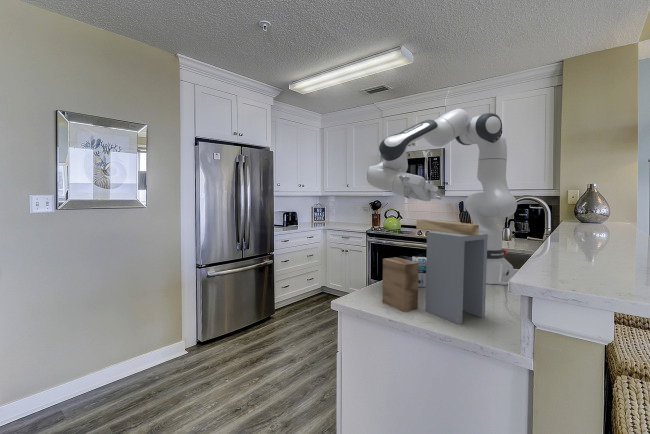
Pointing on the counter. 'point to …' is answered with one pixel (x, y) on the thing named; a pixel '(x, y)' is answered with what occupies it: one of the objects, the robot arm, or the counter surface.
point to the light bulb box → (421, 270)
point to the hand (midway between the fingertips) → (439, 193)
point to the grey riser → (456, 275)
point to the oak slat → (448, 227)
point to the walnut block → (400, 283)
